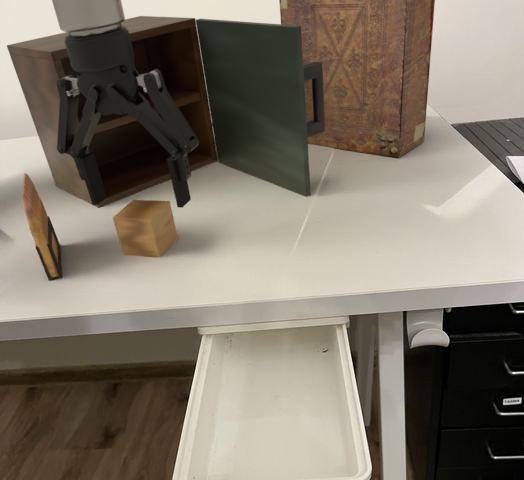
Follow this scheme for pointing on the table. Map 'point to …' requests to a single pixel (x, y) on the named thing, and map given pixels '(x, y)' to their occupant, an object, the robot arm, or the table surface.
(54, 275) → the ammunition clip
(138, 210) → the oak block
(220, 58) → the door
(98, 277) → the table surface
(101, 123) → the cupboard
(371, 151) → the book
